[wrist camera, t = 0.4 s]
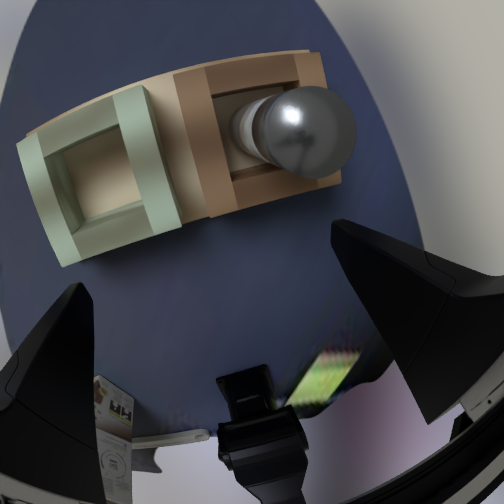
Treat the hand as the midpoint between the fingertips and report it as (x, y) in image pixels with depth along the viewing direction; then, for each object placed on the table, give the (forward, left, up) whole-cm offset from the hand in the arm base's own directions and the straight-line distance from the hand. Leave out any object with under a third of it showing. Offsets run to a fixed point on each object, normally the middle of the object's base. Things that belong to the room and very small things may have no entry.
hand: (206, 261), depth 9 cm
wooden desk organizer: (+3, +1, -15) cm, 15 cm away
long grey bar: (-36, +23, -15) cm, 45 cm away
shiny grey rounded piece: (+3, -5, -14) cm, 15 cm away
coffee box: (-22, +22, -15) cm, 34 cm away
